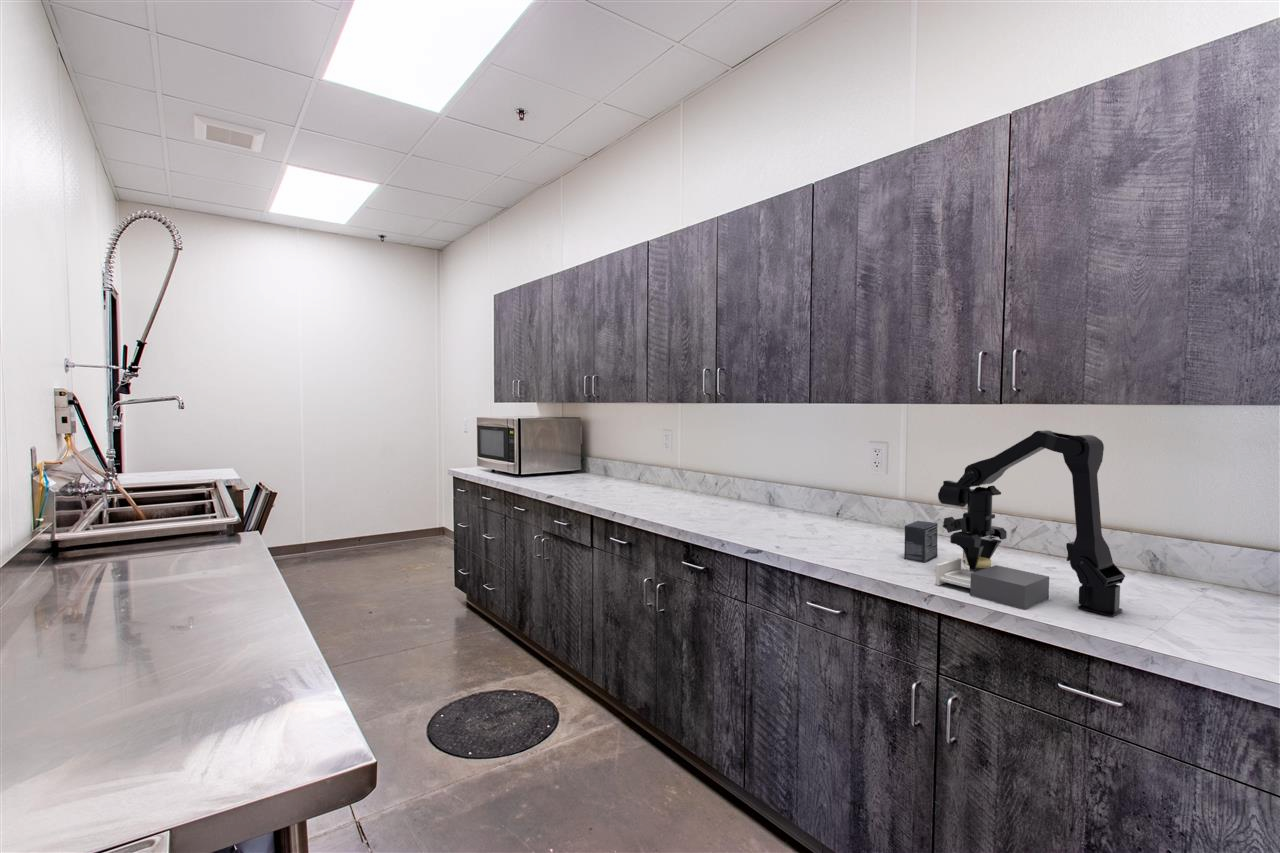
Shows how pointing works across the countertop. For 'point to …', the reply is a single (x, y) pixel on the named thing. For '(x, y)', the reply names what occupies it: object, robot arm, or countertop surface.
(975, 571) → the puck
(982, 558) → the disc
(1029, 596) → the block
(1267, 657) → the countertop surface
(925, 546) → the small box
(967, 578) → the tray
